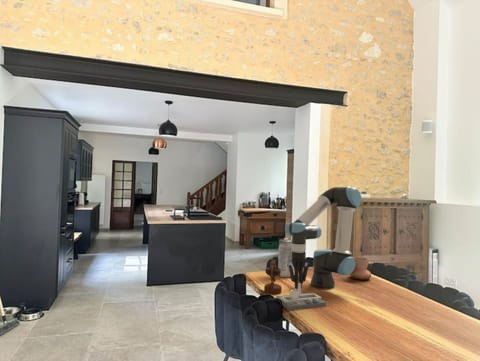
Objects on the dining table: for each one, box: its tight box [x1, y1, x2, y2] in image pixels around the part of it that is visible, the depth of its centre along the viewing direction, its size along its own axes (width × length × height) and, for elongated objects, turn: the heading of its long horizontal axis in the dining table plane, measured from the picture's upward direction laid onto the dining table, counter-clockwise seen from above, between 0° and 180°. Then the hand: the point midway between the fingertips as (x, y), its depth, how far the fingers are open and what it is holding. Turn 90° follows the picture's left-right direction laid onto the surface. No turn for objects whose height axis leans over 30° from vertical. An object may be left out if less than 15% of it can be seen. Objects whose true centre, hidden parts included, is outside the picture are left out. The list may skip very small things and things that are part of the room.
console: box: [275, 292, 327, 311], centre depth 172 cm, size 22×16×4 cm
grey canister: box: [277, 237, 294, 278], centre depth 226 cm, size 9×10×27 cm
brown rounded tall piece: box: [263, 258, 283, 296], centre depth 191 cm, size 15×11×20 cm
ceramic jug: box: [349, 256, 372, 281], centre depth 222 cm, size 18×14×14 cm
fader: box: [289, 289, 299, 299], centre depth 171 cm, size 3×4×5 cm
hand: (298, 294), depth 171 cm, fingers closed
